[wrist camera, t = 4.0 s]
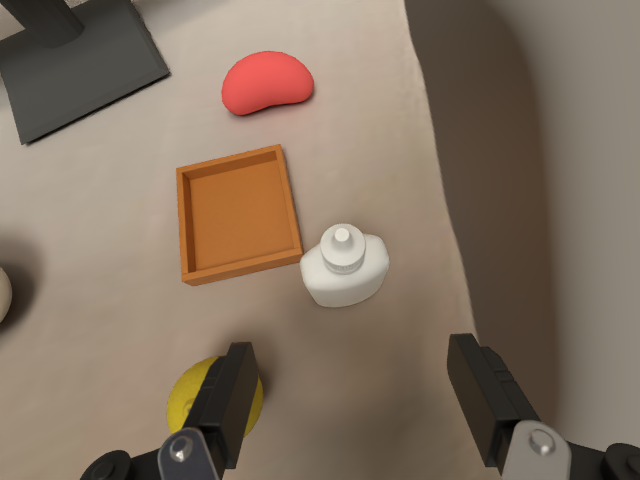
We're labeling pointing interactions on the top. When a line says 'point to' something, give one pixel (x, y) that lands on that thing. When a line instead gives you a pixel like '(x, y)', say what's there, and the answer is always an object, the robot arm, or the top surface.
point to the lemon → (188, 390)
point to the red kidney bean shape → (265, 82)
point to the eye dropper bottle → (344, 266)
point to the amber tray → (236, 216)
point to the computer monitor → (73, 60)
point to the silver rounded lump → (4, 294)
